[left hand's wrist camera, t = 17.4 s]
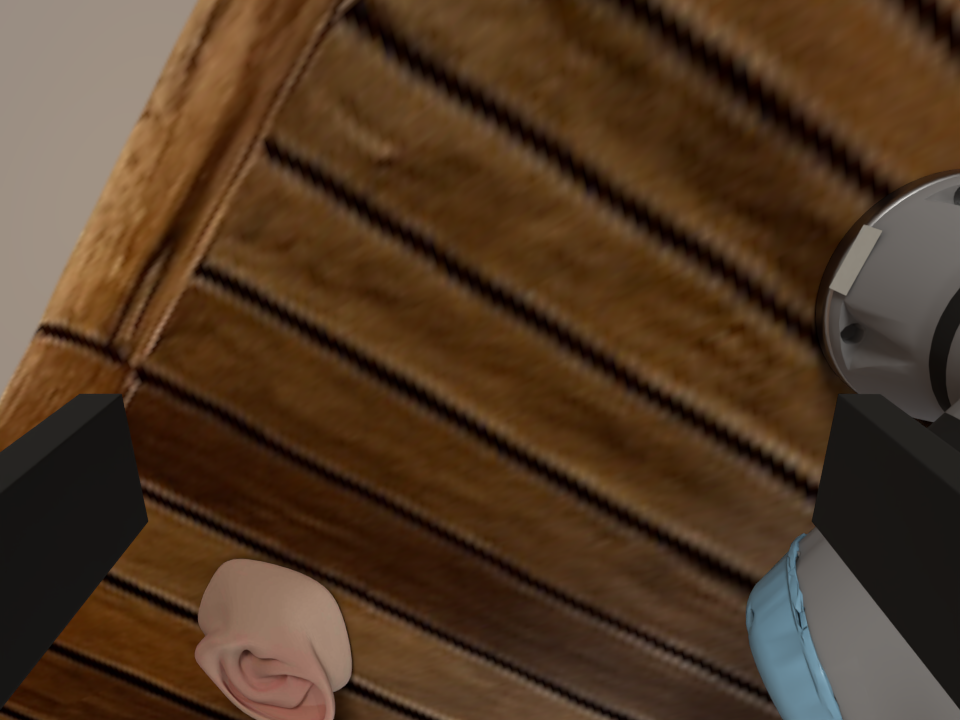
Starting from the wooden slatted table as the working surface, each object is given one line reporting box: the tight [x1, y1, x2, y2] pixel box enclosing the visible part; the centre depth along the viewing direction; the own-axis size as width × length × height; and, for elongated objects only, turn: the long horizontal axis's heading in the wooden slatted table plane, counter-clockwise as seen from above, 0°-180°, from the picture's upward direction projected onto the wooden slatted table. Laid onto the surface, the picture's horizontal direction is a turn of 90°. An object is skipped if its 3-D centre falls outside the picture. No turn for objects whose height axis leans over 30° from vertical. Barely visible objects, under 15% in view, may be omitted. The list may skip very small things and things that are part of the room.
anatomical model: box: [195, 559, 352, 720], centre depth 50 cm, size 13×4×12 cm
